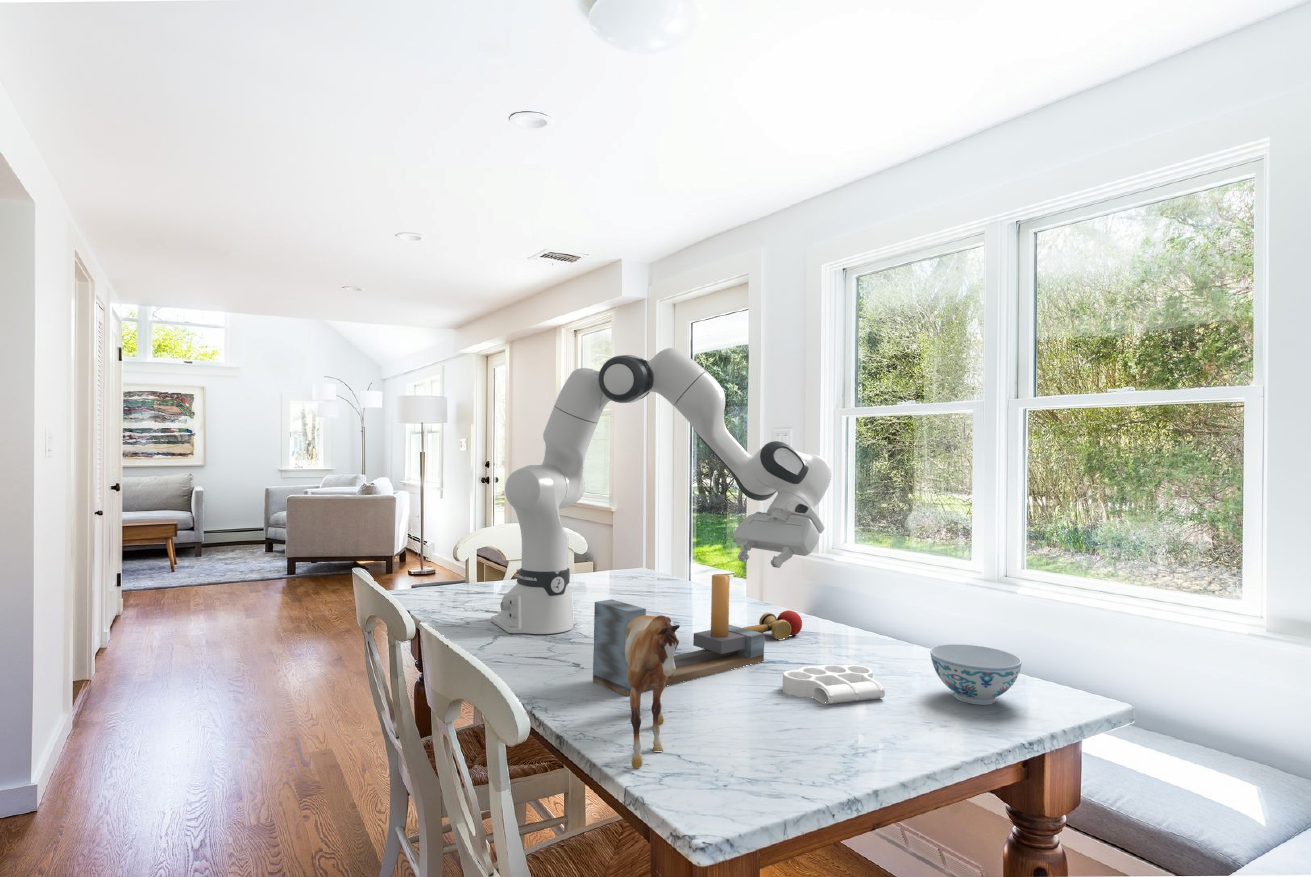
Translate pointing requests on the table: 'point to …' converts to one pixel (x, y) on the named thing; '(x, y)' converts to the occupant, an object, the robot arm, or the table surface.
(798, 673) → the white brass knuckles
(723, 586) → the carriage
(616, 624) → the walnut rail
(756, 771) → the table surface
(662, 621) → the horse figurine
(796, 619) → the kendama
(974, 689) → the chinaware
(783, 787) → the table surface
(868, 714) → the table surface
